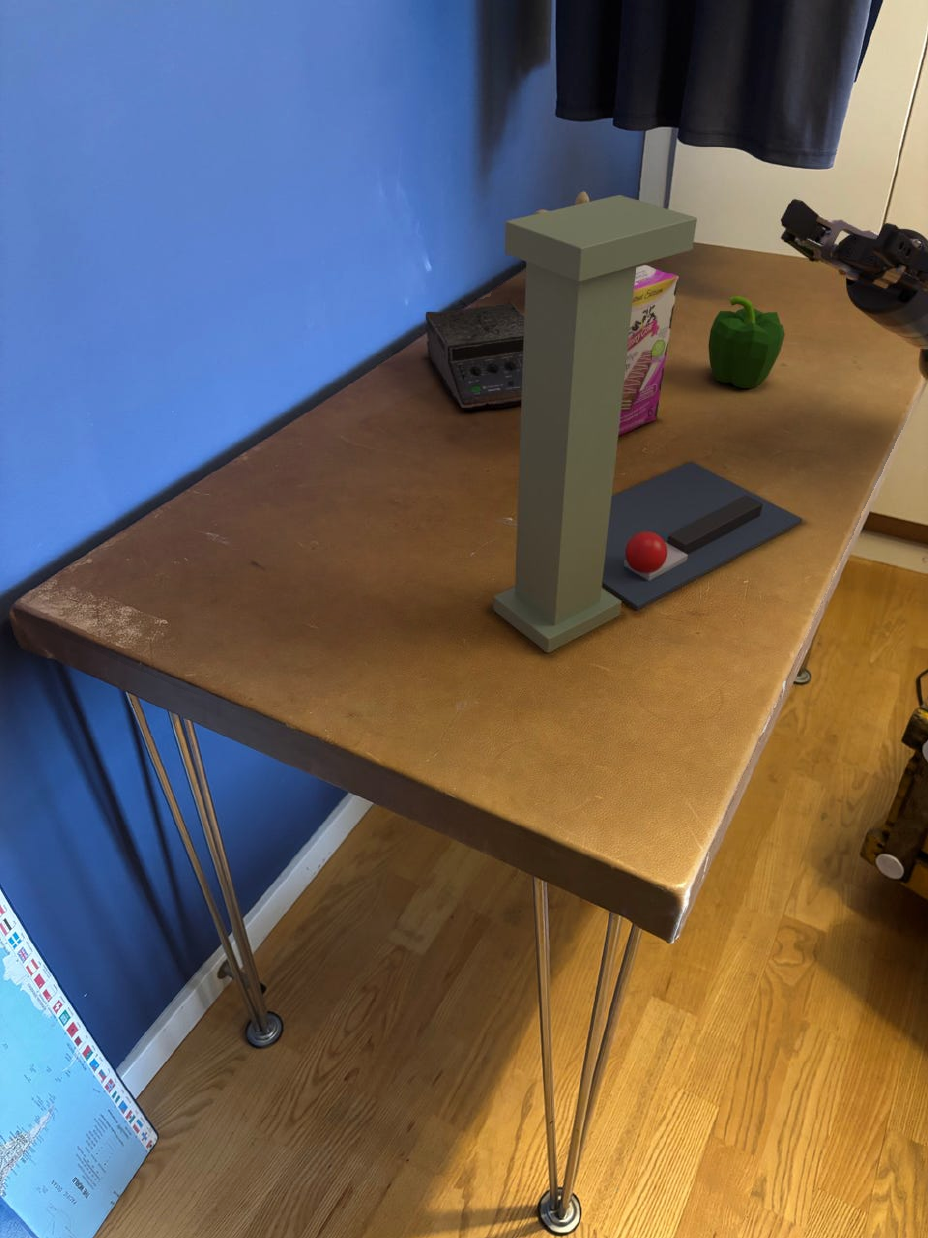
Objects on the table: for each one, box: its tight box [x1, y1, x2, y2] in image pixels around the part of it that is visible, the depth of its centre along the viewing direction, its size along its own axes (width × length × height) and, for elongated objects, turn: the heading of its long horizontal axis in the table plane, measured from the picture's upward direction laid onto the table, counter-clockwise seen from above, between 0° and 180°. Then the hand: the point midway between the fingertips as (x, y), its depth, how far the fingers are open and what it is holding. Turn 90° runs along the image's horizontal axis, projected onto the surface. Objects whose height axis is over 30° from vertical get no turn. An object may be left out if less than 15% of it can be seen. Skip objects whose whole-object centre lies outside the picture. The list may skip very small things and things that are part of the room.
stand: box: [492, 194, 698, 654], centre depth 67 cm, size 10×7×31 cm, turn 127°
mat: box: [602, 460, 803, 611], centre depth 86 cm, size 22×14×1 cm, turn 127°
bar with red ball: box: [624, 495, 763, 581], centre depth 82 cm, size 17×4×4 cm, turn 128°
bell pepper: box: [708, 295, 786, 389], centre depth 108 cm, size 8×8×10 cm
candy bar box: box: [618, 264, 680, 437], centre depth 97 cm, size 11×5×16 cm, turn 130°
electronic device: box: [425, 301, 525, 411], centre depth 110 cm, size 12×17×6 cm
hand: (834, 223), depth 72 cm, fingers open, 8 cm apart
